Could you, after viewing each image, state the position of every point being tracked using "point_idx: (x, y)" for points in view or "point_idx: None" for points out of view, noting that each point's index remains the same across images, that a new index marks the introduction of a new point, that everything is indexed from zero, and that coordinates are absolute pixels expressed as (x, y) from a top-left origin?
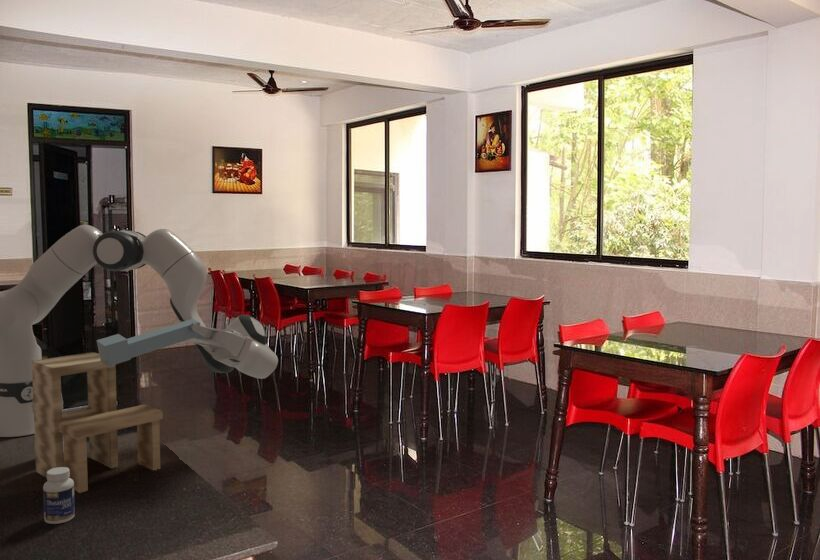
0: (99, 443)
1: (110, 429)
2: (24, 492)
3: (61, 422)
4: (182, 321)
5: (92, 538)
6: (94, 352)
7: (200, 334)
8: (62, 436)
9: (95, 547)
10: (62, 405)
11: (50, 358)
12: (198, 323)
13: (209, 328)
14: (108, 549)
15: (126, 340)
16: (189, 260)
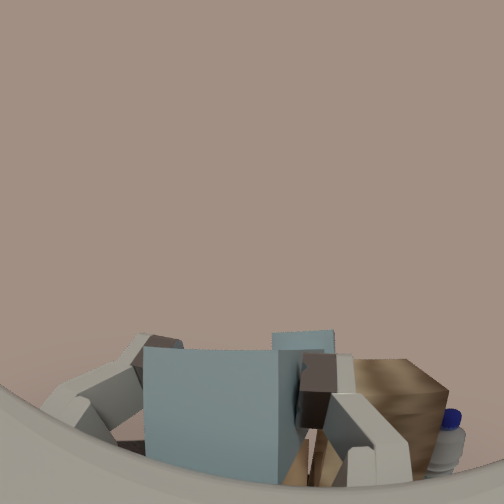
0: None
1: None
2: (307, 484)
3: (306, 440)
4: (316, 353)
5: (143, 453)
6: (442, 391)
7: (119, 415)
8: (312, 463)
9: (130, 445)
10: (432, 465)
11: (412, 365)
12: (151, 356)
13: (70, 425)
14: (117, 444)
15: (272, 335)
16: None
